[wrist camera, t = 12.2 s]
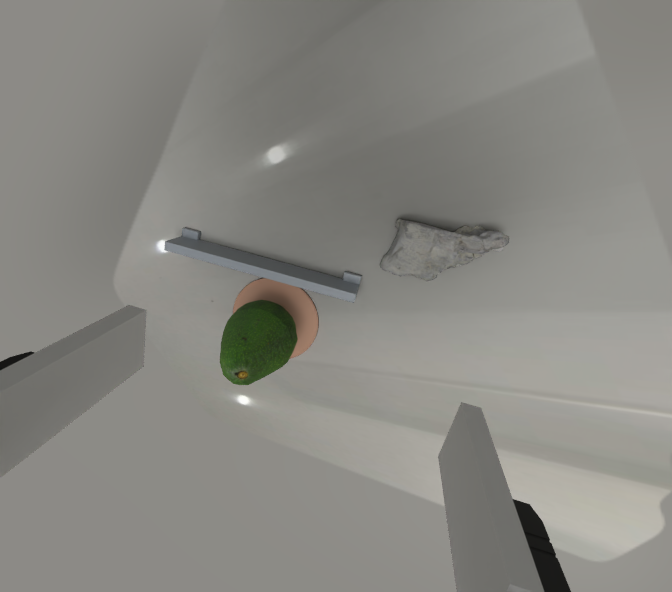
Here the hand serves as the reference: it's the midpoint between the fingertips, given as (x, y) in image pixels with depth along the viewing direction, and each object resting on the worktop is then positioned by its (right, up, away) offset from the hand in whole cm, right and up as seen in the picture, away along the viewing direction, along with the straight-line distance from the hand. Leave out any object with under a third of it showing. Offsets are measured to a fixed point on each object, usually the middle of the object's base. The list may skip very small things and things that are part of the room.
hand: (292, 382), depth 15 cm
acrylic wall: (-6, +7, +29) cm, 31 cm away
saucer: (-6, +1, +32) cm, 32 cm away
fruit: (-6, +1, +31) cm, 32 cm away
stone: (+13, +9, +26) cm, 30 cm away
